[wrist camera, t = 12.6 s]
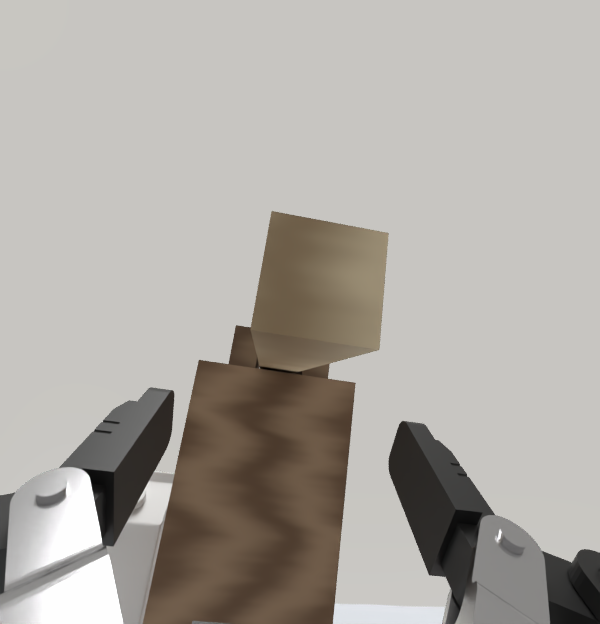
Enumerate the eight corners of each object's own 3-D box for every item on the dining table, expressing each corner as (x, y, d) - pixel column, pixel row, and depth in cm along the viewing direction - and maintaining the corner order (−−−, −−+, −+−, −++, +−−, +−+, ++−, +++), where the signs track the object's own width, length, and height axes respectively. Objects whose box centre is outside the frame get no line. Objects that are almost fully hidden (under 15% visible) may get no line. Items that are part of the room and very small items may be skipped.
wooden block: (250, 329, 7) (272, 211, 8) (260, 369, 30) (265, 339, 31) (378, 349, 7) (388, 233, 8) (290, 373, 30) (295, 343, 31)
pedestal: (63, 994, 16) (207, 320, 24) (163, 689, 31) (229, 344, 39) (297, 990, 17) (359, 344, 25) (281, 696, 32) (322, 358, 40)
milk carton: (82, 637, 36) (127, 459, 40) (147, 640, 36) (183, 465, 41) (42, 699, 29) (101, 476, 33) (122, 701, 29) (169, 483, 34)
